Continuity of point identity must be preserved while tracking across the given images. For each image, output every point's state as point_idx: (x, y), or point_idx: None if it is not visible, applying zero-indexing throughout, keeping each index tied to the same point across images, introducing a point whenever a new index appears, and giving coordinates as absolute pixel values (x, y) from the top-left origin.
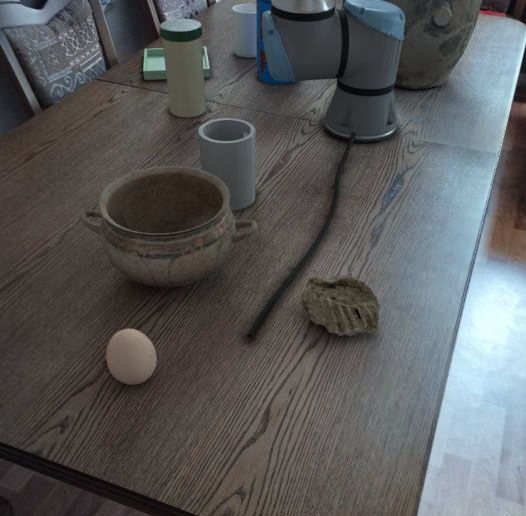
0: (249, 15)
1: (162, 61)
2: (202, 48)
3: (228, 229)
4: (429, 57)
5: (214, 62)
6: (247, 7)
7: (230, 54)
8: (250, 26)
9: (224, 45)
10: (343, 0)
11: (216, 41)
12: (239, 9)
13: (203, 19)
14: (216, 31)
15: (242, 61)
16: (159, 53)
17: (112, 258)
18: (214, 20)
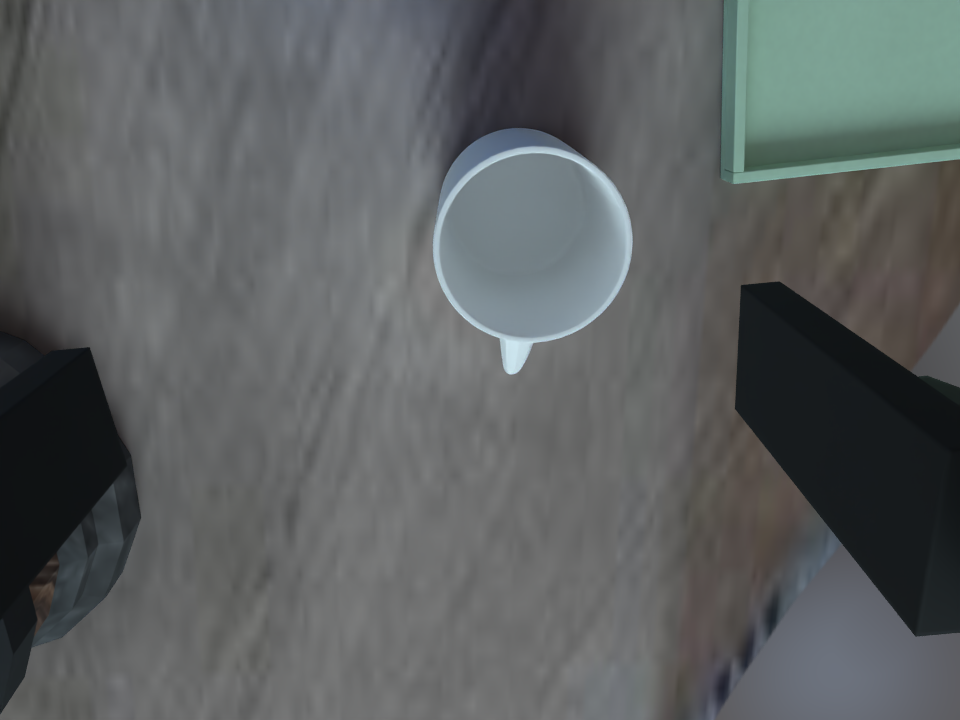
0: (531, 144)
1: (949, 49)
2: (750, 170)
3: None
4: None
5: (689, 74)
6: (536, 329)
7: None
8: (521, 139)
9: (627, 313)
10: None
11: (661, 365)
12: (582, 311)
13: (699, 628)
14: (653, 489)
15: (551, 89)
16: (955, 144)
17: None
18: (654, 617)
